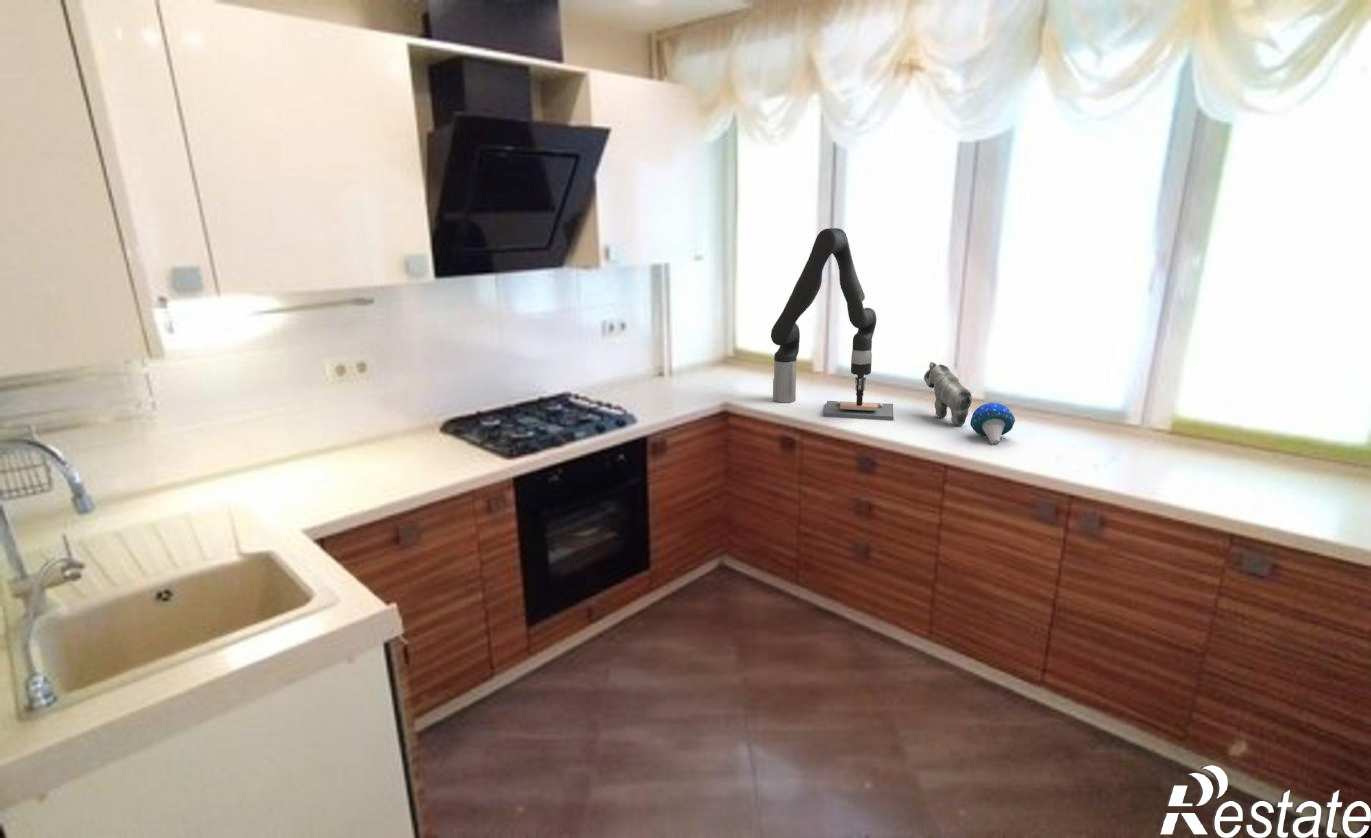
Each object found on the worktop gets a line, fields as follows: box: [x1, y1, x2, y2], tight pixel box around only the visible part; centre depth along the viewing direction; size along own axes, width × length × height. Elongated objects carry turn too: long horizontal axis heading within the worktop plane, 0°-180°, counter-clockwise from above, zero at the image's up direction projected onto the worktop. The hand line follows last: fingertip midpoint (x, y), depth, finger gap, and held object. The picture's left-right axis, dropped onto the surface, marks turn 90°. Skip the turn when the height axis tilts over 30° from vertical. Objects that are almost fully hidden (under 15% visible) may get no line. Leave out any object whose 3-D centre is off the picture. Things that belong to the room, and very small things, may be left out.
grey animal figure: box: [923, 361, 973, 427], centre depth 249 cm, size 25×9×20 cm, turn 15°
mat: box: [823, 400, 895, 421], centre depth 262 cm, size 26×18×3 cm
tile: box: [840, 400, 879, 411], centre depth 260 cm, size 14×10×2 cm
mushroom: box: [969, 402, 1016, 445], centre depth 227 cm, size 14×14×15 cm
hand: (859, 405), depth 258 cm, fingers closed
